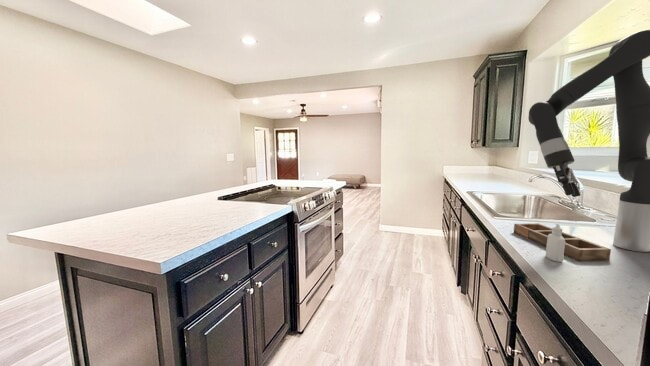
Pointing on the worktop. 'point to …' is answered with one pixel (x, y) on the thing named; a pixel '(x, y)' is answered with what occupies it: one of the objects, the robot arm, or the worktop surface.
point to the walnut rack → (573, 245)
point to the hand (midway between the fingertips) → (573, 195)
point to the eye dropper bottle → (555, 245)
